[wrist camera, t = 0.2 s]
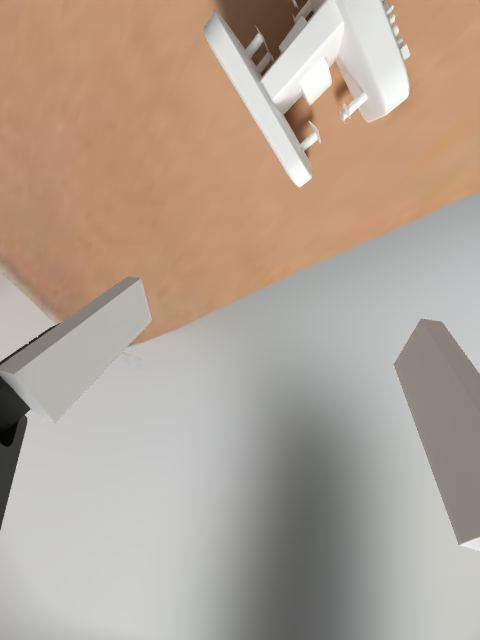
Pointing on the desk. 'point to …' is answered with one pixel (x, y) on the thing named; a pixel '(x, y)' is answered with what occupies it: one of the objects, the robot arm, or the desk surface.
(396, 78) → the cable organizer
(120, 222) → the desk surface
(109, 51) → the desk surface
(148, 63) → the desk surface
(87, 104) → the desk surface
